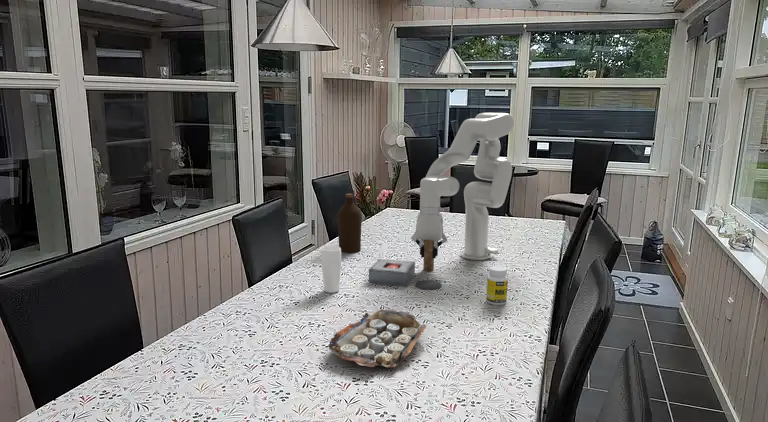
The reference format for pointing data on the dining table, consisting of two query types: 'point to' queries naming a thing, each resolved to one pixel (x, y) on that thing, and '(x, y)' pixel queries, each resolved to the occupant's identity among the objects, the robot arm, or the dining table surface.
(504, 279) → the supplement bottle
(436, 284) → the coaster
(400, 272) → the grey square holed block
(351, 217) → the olive oil
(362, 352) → the baking tray
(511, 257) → the dining table surface
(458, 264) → the dining table surface
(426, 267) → the tan wooden rod
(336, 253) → the drinking glass
